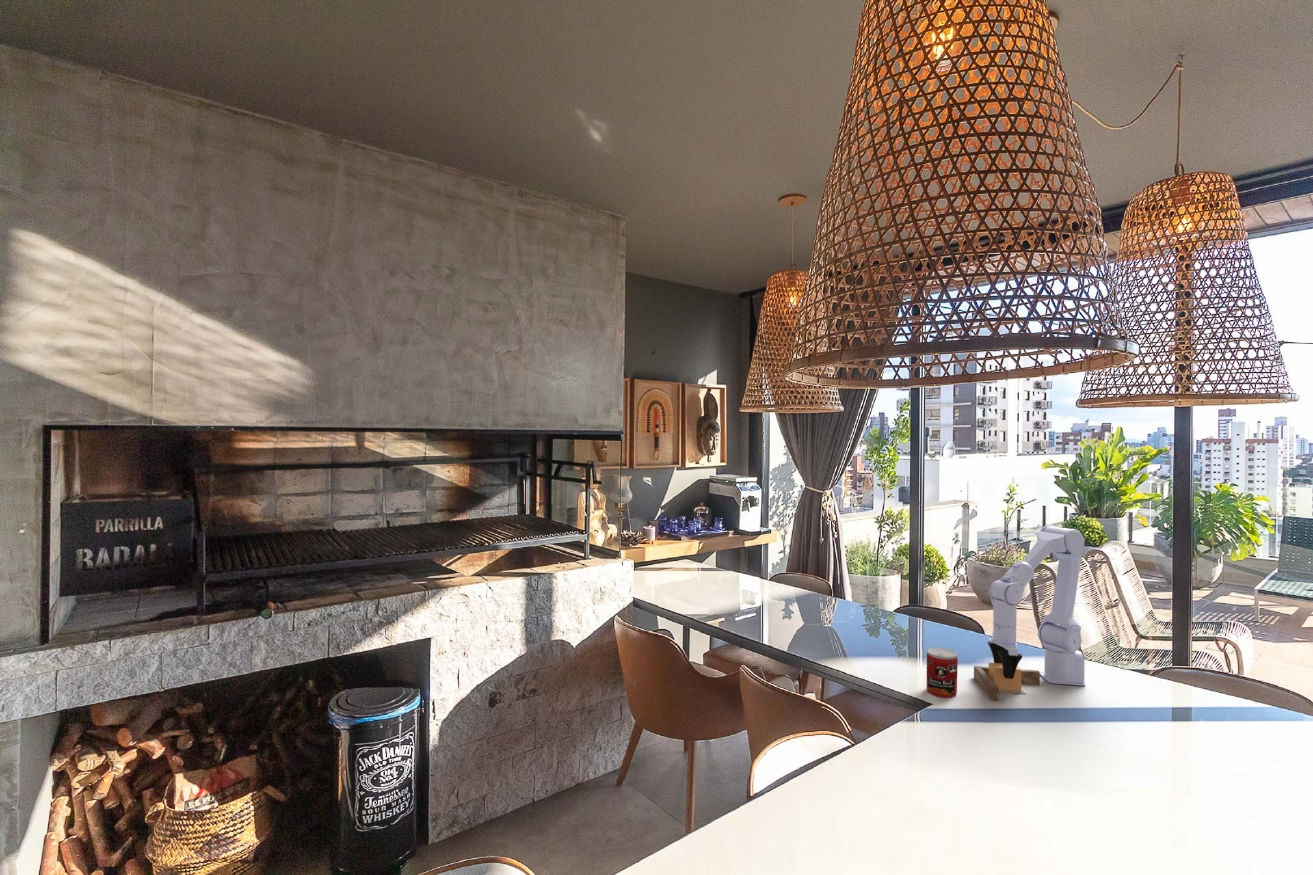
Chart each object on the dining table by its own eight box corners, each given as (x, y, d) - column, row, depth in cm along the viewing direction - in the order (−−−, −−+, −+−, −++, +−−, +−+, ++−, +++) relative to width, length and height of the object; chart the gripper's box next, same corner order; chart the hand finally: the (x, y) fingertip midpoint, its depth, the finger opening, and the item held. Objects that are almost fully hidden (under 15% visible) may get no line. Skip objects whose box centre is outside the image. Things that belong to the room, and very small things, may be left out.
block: (988, 683, 186) (988, 662, 186) (1014, 685, 185) (1015, 664, 185) (993, 689, 181) (994, 667, 182) (1021, 691, 180) (1021, 669, 180)
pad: (1015, 682, 187) (1015, 682, 187) (1025, 694, 179) (1025, 693, 179) (981, 680, 189) (981, 680, 189) (991, 691, 180) (991, 690, 180)
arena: (1037, 682, 188) (1037, 670, 188) (1062, 706, 171) (1063, 692, 171) (973, 677, 191) (974, 665, 191) (992, 700, 174) (992, 687, 174)
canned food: (924, 694, 177) (925, 653, 177) (927, 685, 184) (928, 645, 184) (956, 700, 174) (956, 658, 174) (957, 690, 181) (958, 650, 181)
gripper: (981, 616, 191) (980, 663, 191) (997, 630, 177) (997, 681, 177) (1007, 618, 190) (1007, 665, 190) (1026, 632, 175) (1025, 683, 175)
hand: (1004, 673), depth 183 cm, fingers open, 7 cm apart
